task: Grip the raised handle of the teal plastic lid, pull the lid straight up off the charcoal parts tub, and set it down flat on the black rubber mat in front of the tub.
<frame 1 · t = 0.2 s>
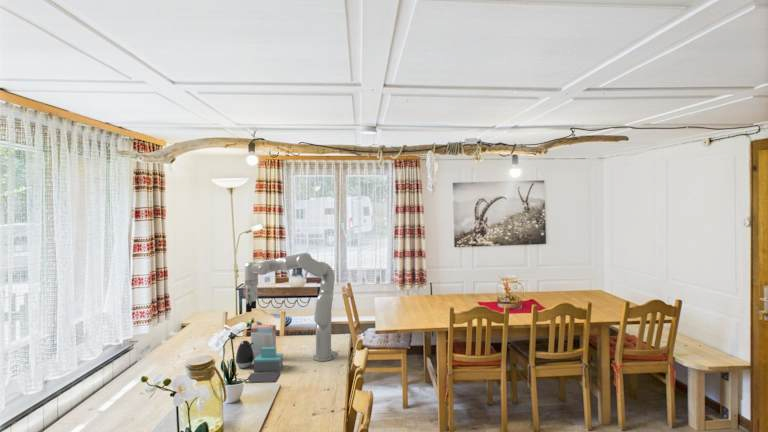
hand: (251, 310, 235), 31 cm above the table, tool pointing down, fingers open, 9 cm apart
lid: (268, 358, 220), point 6 cm above the table, touching tub
tub: (268, 369, 220), on the table
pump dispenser: (244, 366, 224), on the table
mat: (263, 378, 207), on the table
cracker box: (263, 359, 235), on the table
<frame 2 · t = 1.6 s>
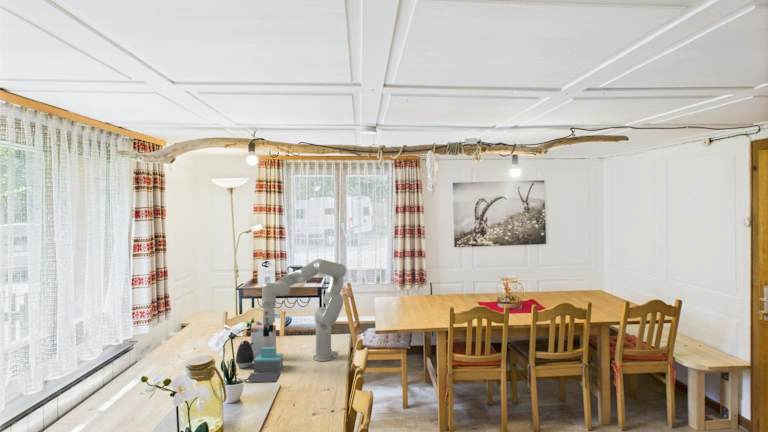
hand: (268, 334, 220), 20 cm above the table, tool pointing down, fingers open, 9 cm apart
nothing on the table moved.
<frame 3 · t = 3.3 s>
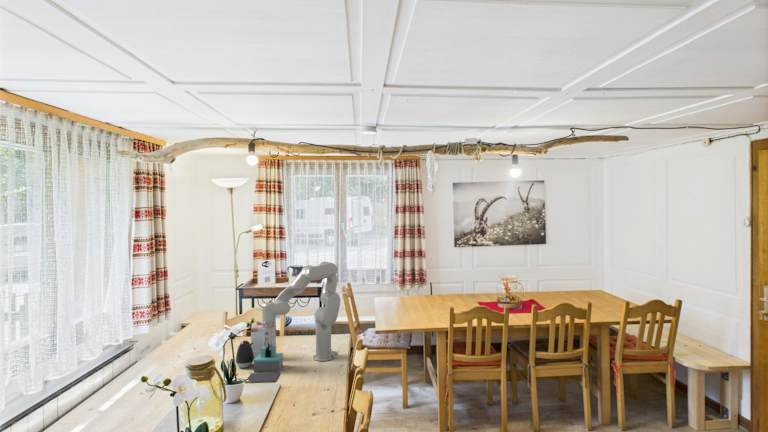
hand: (268, 355, 220), 8 cm above the table, tool pointing down, fingers closed on lid, 3 cm apart
lid: (268, 358, 220), point 6 cm above the table, touching gripper
everything else where it was.
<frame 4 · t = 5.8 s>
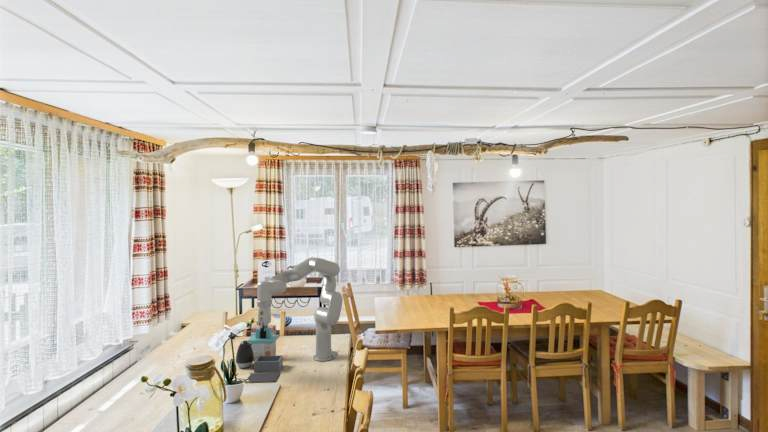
hand: (263, 336, 209), 22 cm above the table, tool pointing down, fingers closed on lid, 3 cm apart
lid: (263, 339, 209), point 20 cm above the table, touching gripper
everything else where it was.
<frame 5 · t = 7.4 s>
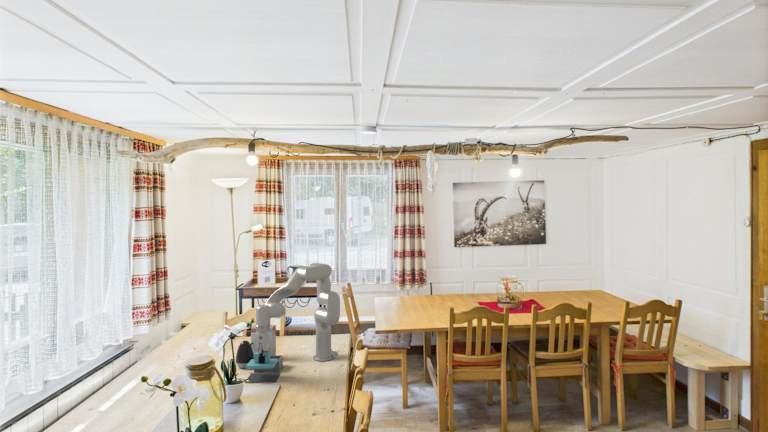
hand: (262, 361, 207), 9 cm above the table, tool pointing down, fingers closed on lid, 3 cm apart
lid: (262, 364, 207), point 7 cm above the table, touching gripper
everything else where it was.
when the fingers open (5 cm above the table, at t = 8.5 s): lid drops 2 cm, resting on mat.
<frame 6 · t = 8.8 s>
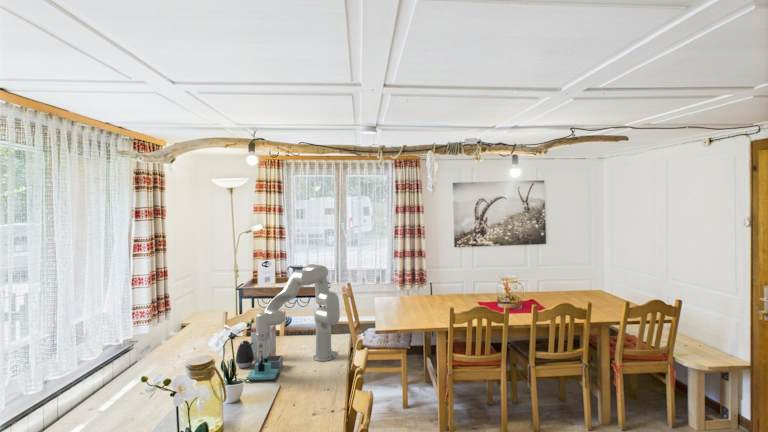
hand: (263, 368, 207), 5 cm above the table, tool pointing down, fingers open, 6 cm apart
lid: (262, 375, 207), point 1 cm above the table, touching mat
everything else where it was.
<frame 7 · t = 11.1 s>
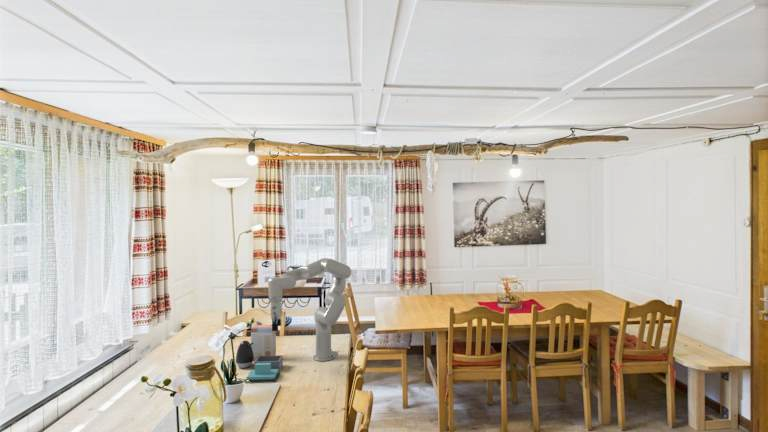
hand: (276, 328, 220), 24 cm above the table, tool pointing down, fingers open, 9 cm apart
nothing on the table moved.
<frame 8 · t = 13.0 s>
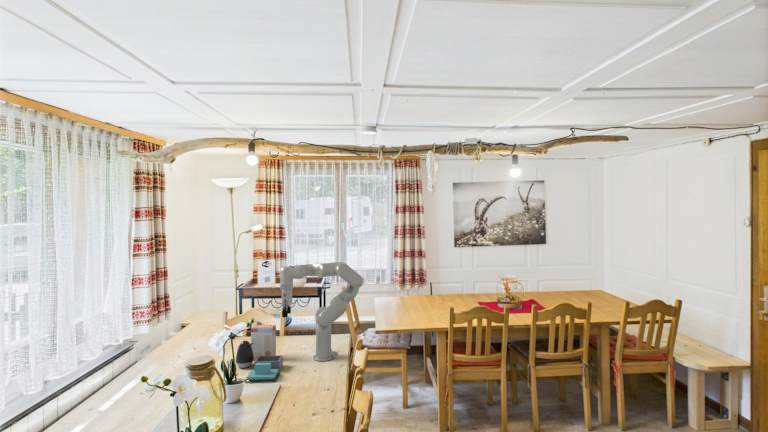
hand: (286, 315, 232), 28 cm above the table, tool pointing down, fingers open, 9 cm apart
nothing on the table moved.
at the end: lid inside the target area on the mat (0.1 cm from its centre), point 1.5 cm above the mat's base; lid tilted 0°; the gripper is holding nothing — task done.
